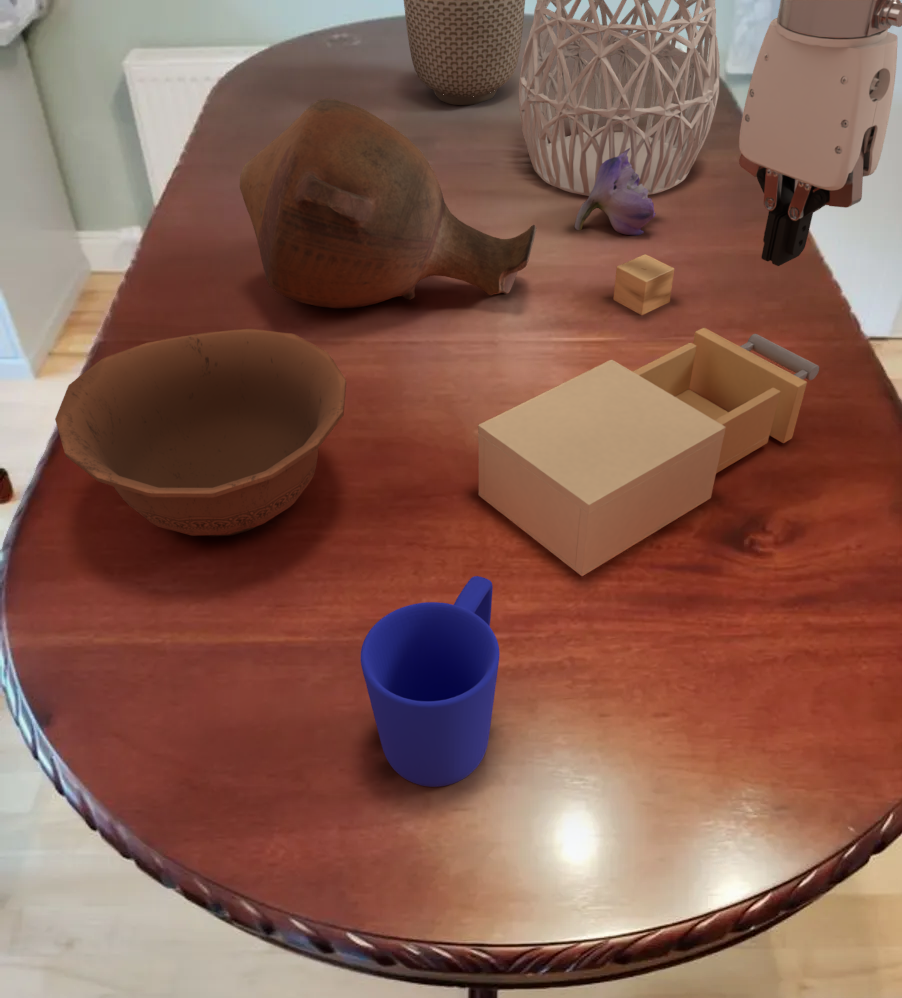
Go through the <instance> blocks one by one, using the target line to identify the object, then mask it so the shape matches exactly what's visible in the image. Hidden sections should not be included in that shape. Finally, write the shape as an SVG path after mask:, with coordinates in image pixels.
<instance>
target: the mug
mask: <svg viewBox="0 0 902 998" xmlns="http://www.w3.org/2000/svg"><path fill="white" fill-rule="evenodd" d="M493 591H494V589H493V583H492V581H491V579H488V578H486V577H484V576H483V577H482V576H478V575H474V576H472V577H471V578H470V579H469V580H468V581H467V582H466V584H465V585H464V586H463V588H462V590H461V591H460V593H459V594H458V596H457V598H456V599H455V601H454V603H453V604H452V603H446V602H436V601H428V602H427V601H426V602H425V601H424V602H418V603H412V604H408V605H405V606H402V607H400V608H397V609H395V610H393V611H391V612H388V613H387V614H386V615H384V616H383V617H381V618H380V619H379V620H378V621H377V622H376V623H375V624H374V625H373V626H372V627H371V628H370V629H369V631H368V632H367V634H366V636H365V638H364V640H363V642H362V645H361V649H360V665H361V670H362V674H363V677H364V682H365V685H366V689H367V690H366V691H367V694H368V697H369V701H370V706H371V710H372V713H373V717H374V721H375V725H376V728H377V733H378V737H379V741H380V745H381V748H382V751H383V754H384V756H385V759H386V760H387V762H388V763H389V765H390V767H391V768H392V769H393V770H394V771H395V772H396V773H397V774H398V775H399V776H400V777H402V778H403V779H405V780H407V781H408V782H411V783H413V784H415V785H419V786H422V787H430V788H431V787H432V788H438V787H446V786H450V785H453V784H455V783H458V782H461V781H462V780H464V779H466V778H467V777H469V776H470V775H471V774H472V773H473V772H474V771H476V769H477V768H478V767H479V765H480V764H481V763H482V761H483V759H484V757H485V754H486V752H487V750H488V745H489V739H490V731H491V725H492V717H493V709H494V703H495V702H494V701H495V695H496V687H497V678H498V671H499V664H500V645H499V642H498V639H497V637H496V634H495V633H494V631H493V629H492V628H491V618H492V605H493V604H492V603H493Z"/></svg>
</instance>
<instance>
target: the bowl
mask: <svg viewBox="0 0 902 998" xmlns="http://www.w3.org/2000/svg"><path fill="white" fill-rule="evenodd" d="M346 390H347V378H346V377H345V375H344V374H343V373H342V371H341V369H340V367H338V365H337V364H336V363H335V360H334V359H333V358H332V356H331V354H330V353H329V352H328V351H326V350H325V349H323V348H321V347H319V346H317V345H315V344H314V343H312V342H310V341H308V340H306V339H304V338H302V337H301V336H299V335H297V334H295V333H290V332H281V331H280V332H279V331H273V330H263V329H255V328H243V329H233V330H231V329H230V330H222V331H211V332H201V333H194V334H189V335H183V336H177V337H172V338H165V339H159V340H154V341H148V342H145V343H143V344H139V345H137V346H134V347H131V348H127V349H125V350H123V351H120V352H117V353H114V354H110V355H108V356H106V357H103V358H101V359H99V360H98V361H97V362H96V363H94V364H93V365H92V366H90V367H89V368H88V369H86V371H85V372H83V373H82V374H81V375H79V376H78V377H77V378H76V379H74V380H73V381H72V382H70V383H69V384H68V386H67V388H66V391H65V393H64V396H63V398H62V400H61V403H60V406H59V408H58V410H57V413H56V416H55V418H54V421H55V424H56V427H57V431H58V434H59V437H60V441H61V444H62V448H63V451H64V454H65V458H67V459H69V460H70V461H71V462H73V463H74V464H75V465H77V466H78V467H79V468H80V469H82V470H83V471H84V472H85V473H87V474H88V475H89V476H90V477H92V478H93V479H94V480H96V481H97V482H99V483H102V484H105V485H109V486H112V487H113V488H114V490H115V491H116V492H117V494H118V495H119V496H120V497H121V499H122V500H123V501H124V502H125V503H126V504H127V505H128V506H129V507H130V508H132V509H133V510H134V511H135V512H137V513H138V514H139V515H140V516H142V517H143V518H144V519H146V520H147V521H148V522H150V523H151V524H152V525H154V526H155V527H158V528H162V529H165V530H169V531H173V532H177V533H181V534H183V535H184V534H185V535H187V536H188V535H189V536H192V537H193V536H195V537H196V536H197V537H198V536H209V537H219V536H220V537H223V536H225V537H226V536H234V535H238V534H240V533H244V532H247V531H251V530H253V529H255V528H257V527H258V526H261V525H264V524H266V523H267V522H269V521H271V520H272V519H274V518H275V517H277V516H278V515H280V514H281V513H283V512H284V511H286V510H288V509H289V508H291V507H292V506H294V504H295V503H296V502H297V500H298V499H299V498H300V496H301V495H302V493H304V491H305V489H306V488H307V487H308V485H309V484H310V482H312V480H313V478H314V476H315V473H316V470H317V464H318V458H319V449H320V447H321V446H322V444H323V443H324V441H325V440H326V439H327V438H328V436H329V435H330V434H331V432H332V431H333V430H334V428H335V427H336V426H337V425H338V423H339V422H340V420H341V419H342V418H343V417H344V414H345V403H346V392H347V391H346Z"/></svg>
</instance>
